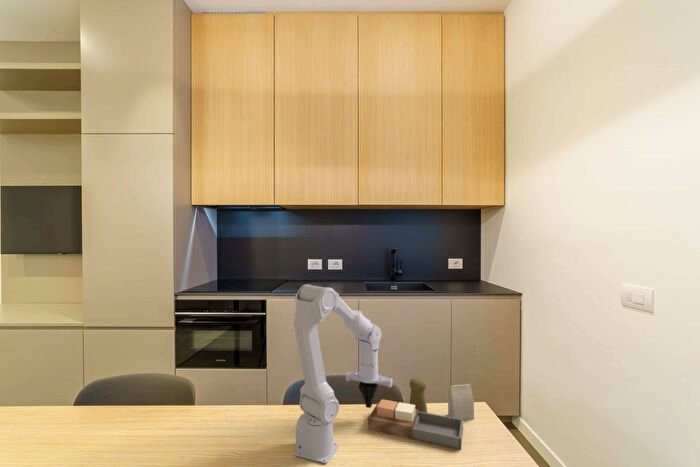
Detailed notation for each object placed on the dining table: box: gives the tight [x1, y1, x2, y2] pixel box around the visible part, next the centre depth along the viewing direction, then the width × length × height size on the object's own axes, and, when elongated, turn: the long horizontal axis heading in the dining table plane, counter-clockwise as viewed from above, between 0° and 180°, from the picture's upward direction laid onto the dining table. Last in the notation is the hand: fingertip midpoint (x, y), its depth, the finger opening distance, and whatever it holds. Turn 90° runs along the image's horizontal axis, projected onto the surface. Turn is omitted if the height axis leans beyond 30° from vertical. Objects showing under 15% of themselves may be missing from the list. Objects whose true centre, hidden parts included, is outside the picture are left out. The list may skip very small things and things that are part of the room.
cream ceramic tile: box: [395, 401, 415, 422], centre depth 101 cm, size 5×5×2 cm
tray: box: [411, 411, 464, 451], centre depth 98 cm, size 13×10×3 cm
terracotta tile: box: [377, 399, 398, 418], centre depth 103 cm, size 5×5×2 cm
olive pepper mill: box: [409, 376, 428, 413], centre depth 109 cm, size 6×6×11 cm
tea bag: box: [447, 383, 475, 421], centre depth 107 cm, size 4×7×10 cm, turn 98°
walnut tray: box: [367, 401, 419, 440], centre depth 103 cm, size 13×10×4 cm
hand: (369, 406), depth 105 cm, fingers closed
